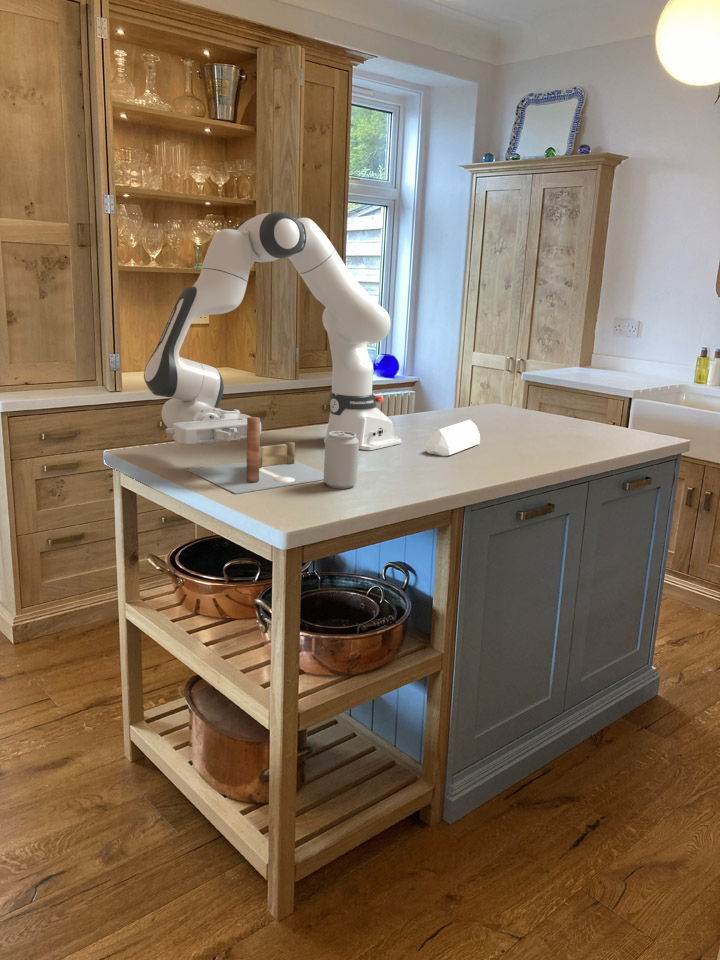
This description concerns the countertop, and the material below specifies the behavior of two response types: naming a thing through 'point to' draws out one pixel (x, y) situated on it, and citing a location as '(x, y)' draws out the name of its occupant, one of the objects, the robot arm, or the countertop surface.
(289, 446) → the fixed rail
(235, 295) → the robot arm
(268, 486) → the card
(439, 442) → the white chamfered prism
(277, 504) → the countertop surface
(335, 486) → the can
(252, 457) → the rail
